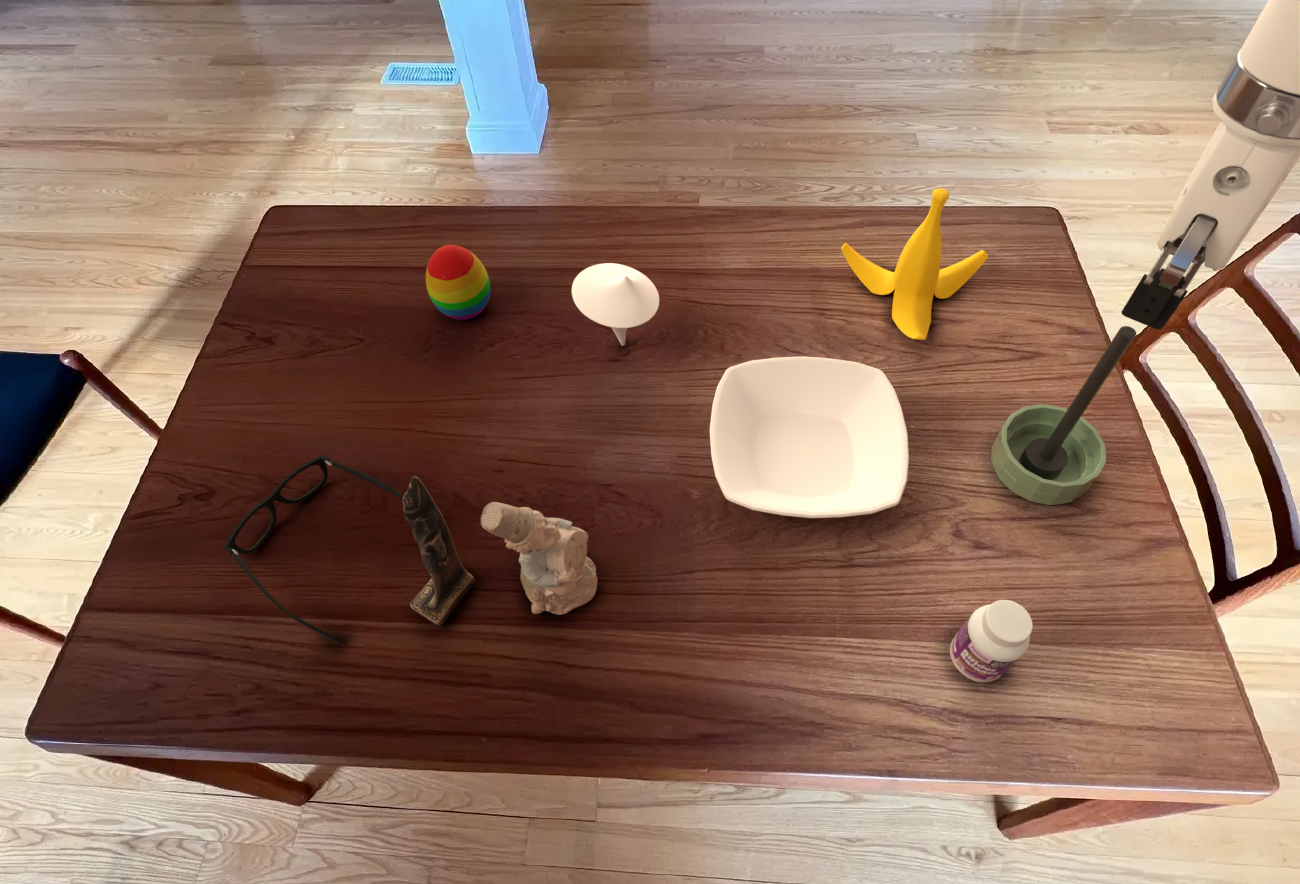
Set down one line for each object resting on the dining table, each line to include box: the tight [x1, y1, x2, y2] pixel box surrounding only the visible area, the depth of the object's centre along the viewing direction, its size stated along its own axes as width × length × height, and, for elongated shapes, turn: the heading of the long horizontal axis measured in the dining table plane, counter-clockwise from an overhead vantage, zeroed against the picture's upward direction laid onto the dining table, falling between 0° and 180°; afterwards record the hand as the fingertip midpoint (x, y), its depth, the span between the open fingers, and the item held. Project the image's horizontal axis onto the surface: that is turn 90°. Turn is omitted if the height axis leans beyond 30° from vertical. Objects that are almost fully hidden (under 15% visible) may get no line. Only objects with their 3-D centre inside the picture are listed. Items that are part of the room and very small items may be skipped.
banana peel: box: [840, 187, 989, 341], centre depth 97 cm, size 17×19×17 cm
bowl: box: [709, 356, 910, 519], centre depth 89 cm, size 22×22×5 cm
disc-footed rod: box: [1020, 325, 1137, 480], centre depth 80 cm, size 4×4×22 cm
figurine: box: [480, 501, 599, 616], centre depth 76 cm, size 9×8×20 cm
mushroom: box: [571, 262, 660, 347], centre depth 98 cm, size 10×11×12 cm
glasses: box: [223, 453, 404, 645], centre depth 86 cm, size 17×18×5 cm
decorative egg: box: [425, 244, 491, 321], centre depth 104 cm, size 8×8×10 cm
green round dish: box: [990, 403, 1107, 506], centre depth 87 cm, size 11×11×4 cm
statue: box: [401, 475, 476, 627], centre depth 76 cm, size 4×7×20 cm, turn 149°
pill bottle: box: [949, 599, 1034, 683], centre depth 74 cm, size 5×5×10 cm
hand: (1162, 285), depth 66 cm, fingers open, 9 cm apart
